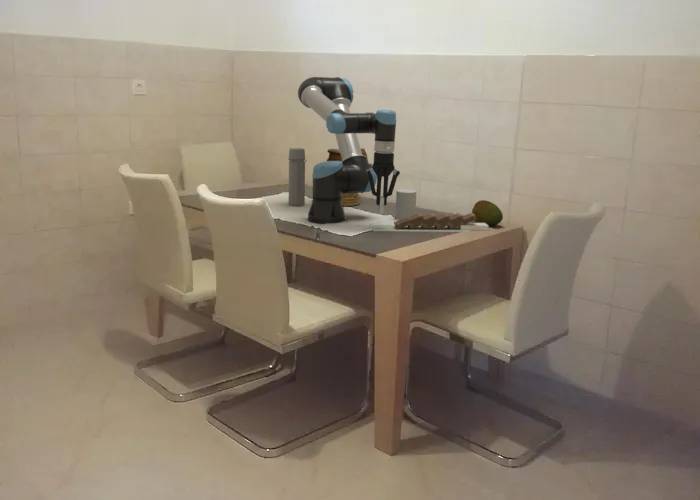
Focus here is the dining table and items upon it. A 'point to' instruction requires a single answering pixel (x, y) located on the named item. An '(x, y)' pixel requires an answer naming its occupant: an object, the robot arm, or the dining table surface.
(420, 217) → the tile
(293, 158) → the water bottle
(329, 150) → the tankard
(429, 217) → the tile
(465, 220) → the tile
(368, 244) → the dining table surface
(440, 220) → the tile
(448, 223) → the tile
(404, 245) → the dining table surface
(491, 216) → the fruit
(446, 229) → the strip
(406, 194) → the cup
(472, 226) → the ivory tile
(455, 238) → the dining table surface
